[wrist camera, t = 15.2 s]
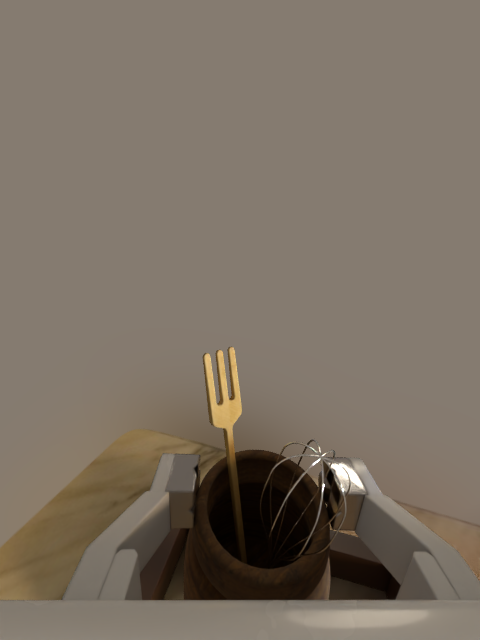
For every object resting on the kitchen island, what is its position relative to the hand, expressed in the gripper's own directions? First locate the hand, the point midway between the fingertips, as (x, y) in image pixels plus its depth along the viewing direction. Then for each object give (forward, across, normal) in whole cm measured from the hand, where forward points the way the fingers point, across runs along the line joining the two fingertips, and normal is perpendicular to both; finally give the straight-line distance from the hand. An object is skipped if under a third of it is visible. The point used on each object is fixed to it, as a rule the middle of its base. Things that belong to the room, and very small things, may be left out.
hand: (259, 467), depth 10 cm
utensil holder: (-1, 0, +8) cm, 8 cm away
